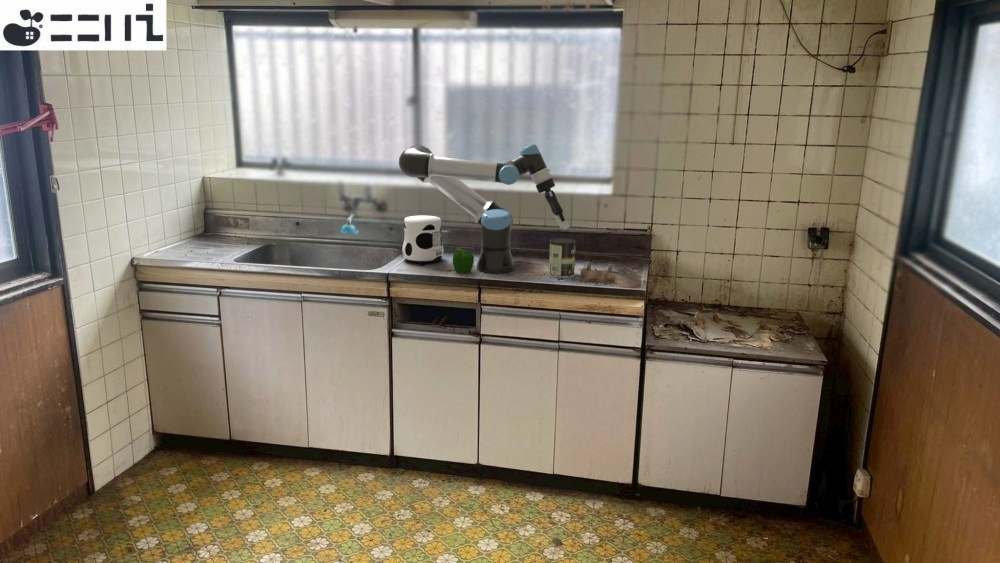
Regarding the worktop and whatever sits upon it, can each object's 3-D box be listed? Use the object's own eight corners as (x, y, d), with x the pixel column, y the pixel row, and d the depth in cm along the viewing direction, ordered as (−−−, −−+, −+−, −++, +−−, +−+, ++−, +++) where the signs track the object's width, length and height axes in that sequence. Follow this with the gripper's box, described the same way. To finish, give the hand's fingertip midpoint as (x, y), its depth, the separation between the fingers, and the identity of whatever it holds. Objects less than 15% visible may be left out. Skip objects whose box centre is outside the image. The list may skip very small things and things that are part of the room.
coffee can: (575, 272, 286) (577, 238, 283) (573, 279, 277) (574, 243, 273) (550, 270, 288) (551, 236, 285) (546, 277, 279) (548, 242, 275)
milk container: (403, 255, 309) (402, 215, 305) (443, 255, 311) (442, 214, 306) (401, 265, 293) (401, 222, 288) (444, 265, 295) (443, 222, 290)
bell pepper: (476, 270, 286) (476, 246, 284) (470, 276, 279) (470, 251, 276) (456, 269, 288) (456, 245, 286) (450, 274, 281) (449, 249, 278)
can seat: (580, 281, 273) (580, 269, 272) (580, 273, 286) (580, 261, 284) (614, 283, 272) (615, 271, 271) (613, 274, 284) (613, 263, 283)
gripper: (554, 176, 279) (576, 225, 281) (549, 177, 304) (570, 222, 306) (536, 184, 279) (559, 233, 282) (533, 185, 304) (554, 230, 306)
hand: (565, 227), depth 294 cm, fingers open, 13 cm apart
